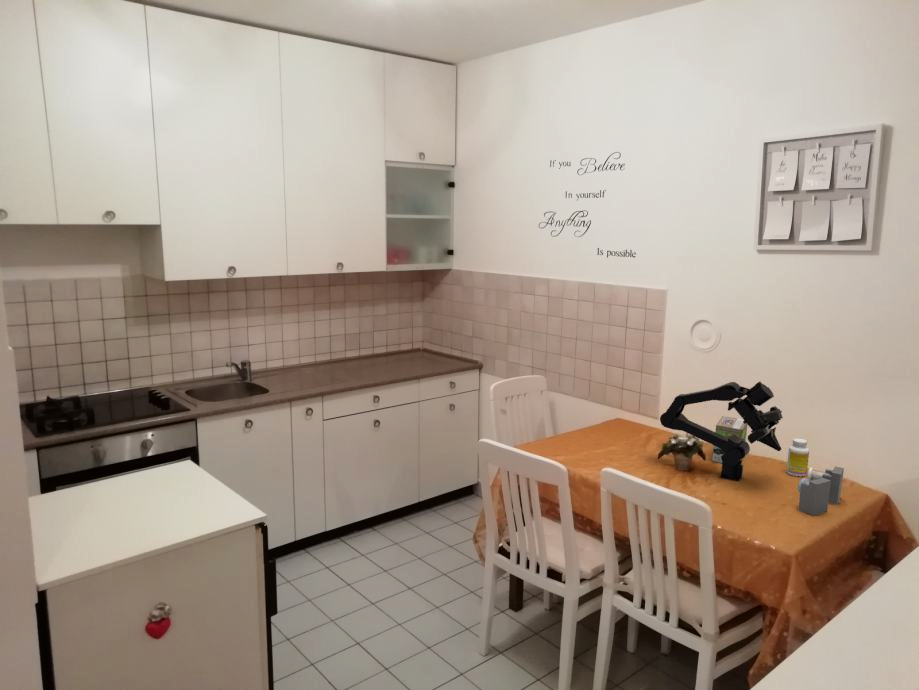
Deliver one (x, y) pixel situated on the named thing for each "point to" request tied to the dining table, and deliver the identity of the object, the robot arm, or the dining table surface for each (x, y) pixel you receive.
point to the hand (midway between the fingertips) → (780, 450)
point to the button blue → (802, 482)
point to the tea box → (729, 433)
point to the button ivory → (814, 474)
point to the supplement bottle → (798, 458)
